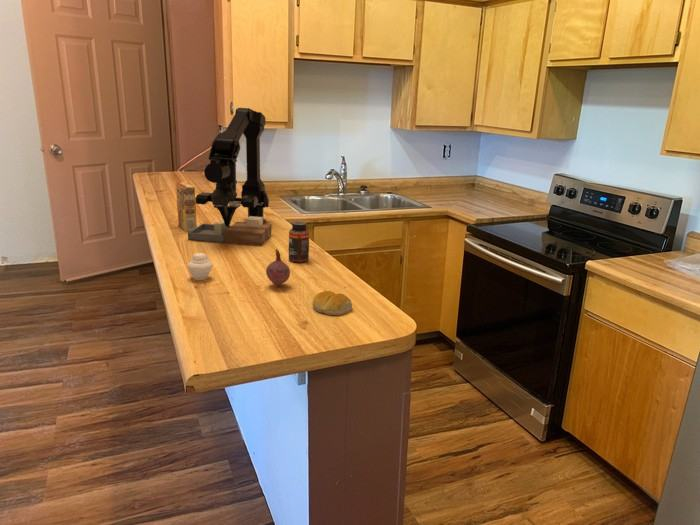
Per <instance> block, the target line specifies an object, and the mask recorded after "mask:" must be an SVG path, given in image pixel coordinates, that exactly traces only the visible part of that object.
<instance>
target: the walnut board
mask: <svg viewBox="0 0 700 525" xmlns="http://www.w3.org/2000/svg"><path fill="white" fill-rule="evenodd" d="M230 226H231V227H229V228H228V229H227V230H225V242H224V244H229V245H231V244H232V245H242V246H254V247H255V246H256V247H262V246H263V245H264V244H265V243H266V242H267V241H268V240H269V239H270V238H271V237H272V224H268V223H263V225H262V226H260V227H246V223H245V221H244V222H242V221H236V222H234V223H233V224H232V225H230ZM270 236H271V237H270Z"/></svg>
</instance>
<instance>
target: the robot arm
mask: <svg viewBox="0 0 700 525" xmlns="http://www.w3.org/2000/svg"><path fill="white" fill-rule="evenodd" d="M266 120H267V118H266V116H265V114H263V113H262V112H260V111H256V110H253V109H251V108H250V107H249V108H247V107H238V108H236V109H235V114H234V115H233V117H232V118H231V120H230V122H229V123H228V126H227V128H226V130H224V131H222V132H219V133H218V134H217V135H216V137H214V139H213V141H212V143H211V148H210V151H209V156H208V161H210V162H209V163H208V164H207V165H206V166H205V168H204V171H203V172H204V173H203V174H204V177H205V179H206V180H207V181H208V182H210V183H213V184H215V189H214V190H213V191H212V192H200V193H198V194H197V195H195V202H196V205H207V203H208V202H211V203H212V205H213V208H215V209H217V210H218V212H219V213H220V214H221V218H222V221H224V223H225V226H226V227H229V226H231V223H232V220H233V217H234V214H235V212H236V210H237V209H238V208H240V207H241V206H242V207H243V208H247V218H248V217H249V216H254V217H263V224H265V223H266V222H267V219H265V218H264V209H266V208H269V204H270V199H269V196H268V193H267V191H266V187H265V184H264V182H263V181H262V179H261V150H260V149H261V145H260V143H261V142H260V141H261V140H260V138H261V136H262V135H263V133H264V131H265V126H266ZM242 135H243V136H244V137H245V145H246V146H245V148H246V149H245V153H246V155H245V156H246V180H245V182H244V183H243V184H242V186H241V193H240V194H241V195H240V196H241V197H238V192H237V184H238V180H237V164H236V163H237V162H238V157H239V153H240V150H241V145H240V140H241V138H242ZM244 222H245V223H246V220H245V221H244Z"/></svg>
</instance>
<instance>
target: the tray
mask: <svg viewBox="0 0 700 525" xmlns="http://www.w3.org/2000/svg"><path fill="white" fill-rule="evenodd" d="M231 226H232V225H229V227H231ZM229 227H228V228H229ZM187 240H188V241H189V240H191V242H193V241H194V242H203V243H216V244H218V243H219V244H225V236H224V235H215V234H214V223H200V224H199V225H198V226H197V227H196V228H195V229H193V230H192V231H187Z"/></svg>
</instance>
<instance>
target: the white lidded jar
mask: <svg viewBox="0 0 700 525" xmlns="http://www.w3.org/2000/svg"><path fill="white" fill-rule="evenodd" d="M212 263H213V262H212V261H211V260H209V258H208V256H207V254H205V253H203V252H196V253H194V254H193V255H192V258H191V260H190V261H189V262H188V264H187V268H188V271H189V273H190V275H191V276H192V278H193V279H194V280H196V281H204V280H207V279H208V277H209V275H210V273H211V271H212V269H213V264H212Z"/></svg>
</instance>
